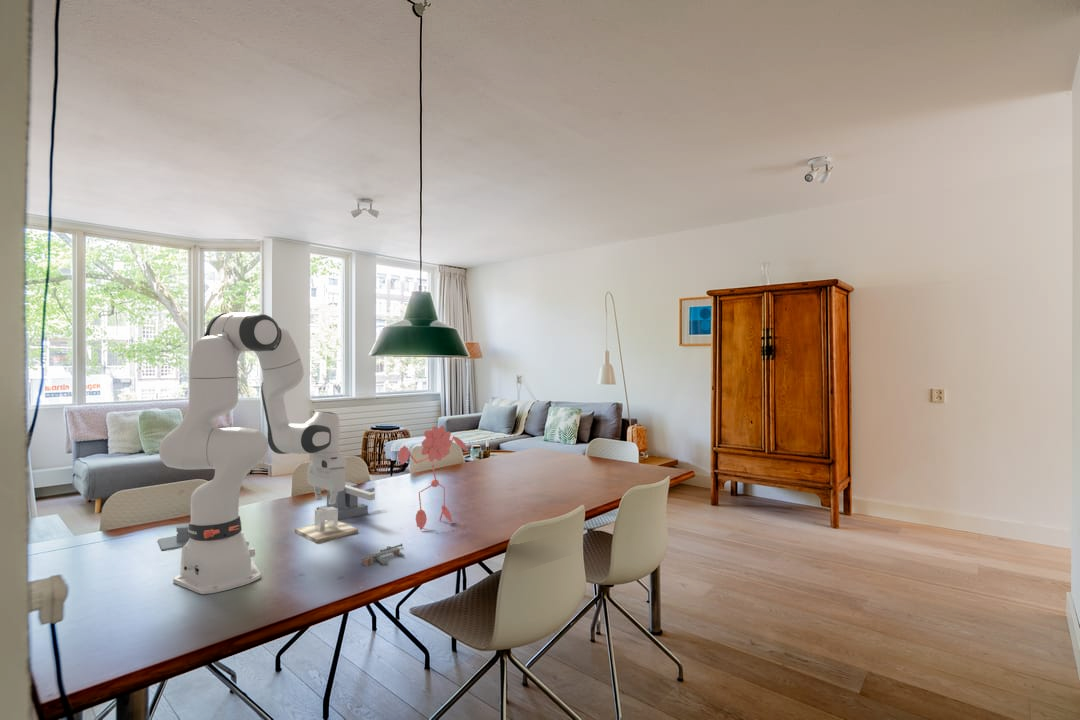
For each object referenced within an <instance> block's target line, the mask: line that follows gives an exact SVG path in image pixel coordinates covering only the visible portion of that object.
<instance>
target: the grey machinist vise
mask: <svg viewBox="0 0 1080 720" xmlns="http://www.w3.org/2000/svg"><path fill="white" fill-rule="evenodd" d="M358 485H359V484H356V483H353V482H349V481H346V484H345V488H344V490H343V491H339V492H338V494H337V497H336V503H335V504H332V505H331V504H329V503H328V502H329V501H328V499H329V498H330V495H331V494H330V491H329V490H326V505H321V506H316V510H318V509H323V508H328V507H335V508H337V509H338V521H341V520H347V519H350V518H354V517H359V516H362V515H367V514H368V513H369V508H368V507H369V505H367V504H365V503H361V502H359V498H361V499H364V500H367V501H374V500H376V497H375V496H376V494H375V493H374V492H375V490H376V489H375V487H369V488H364V489H362V488H358V487H359V486H358Z"/></svg>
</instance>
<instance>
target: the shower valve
mask: <svg viewBox="0 0 1080 720" xmlns="http://www.w3.org/2000/svg"><path fill="white" fill-rule="evenodd" d="M188 527H189V523H183V524H179V525H177V526H176V533H177V534H176V535H172V536H168V537H167V536H166V537H163V538H159V539H157V544H158V543H159V544H158V545H159V547H160V551H162V552H163V551H169V550H174V549H175V548H176V549H179V547H181V548H183V547H184V546H185V544H186V543H187V542H188V540H189V538H190V537H189V536H188Z"/></svg>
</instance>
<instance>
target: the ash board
mask: <svg viewBox="0 0 1080 720" xmlns="http://www.w3.org/2000/svg"><path fill="white" fill-rule="evenodd" d="M294 533H295V534H297V535H299V536H302V537H303V538H305V539H307V540H310V541H311V542H312V543H313V542H314V543H315V544H319V543H323V542H327V541H331V540H335V539H338V538H342V537H346V536H350V535H354V534H358V533H359V528H357V527H354V526H351V525H350V524H347V523H344V522H342V521H341V520H338V528H336V529H332V528H330V527H328V520H325V531H324V532H318V531H316V530H315V523H314V524H310V525H306V526H300V527H298V528H294Z"/></svg>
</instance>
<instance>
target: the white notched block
mask: <svg viewBox="0 0 1080 720" xmlns="http://www.w3.org/2000/svg"><path fill="white" fill-rule="evenodd" d="M326 521H328V527H330V528H332V529H336V528H338V521H339V520H338V509H337V508H335V507H328V508H323V509H318V510H317V509H314V524H315V530H316V531H318V532H324V531H325V522H326Z"/></svg>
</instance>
